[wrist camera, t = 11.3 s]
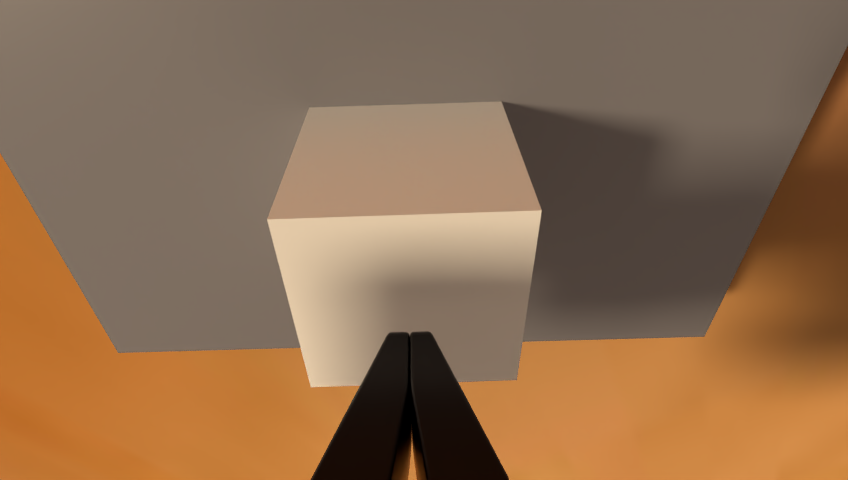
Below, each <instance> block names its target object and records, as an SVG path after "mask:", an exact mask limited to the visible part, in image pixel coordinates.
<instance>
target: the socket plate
mask: <svg viewBox="0 0 848 480" xmlns="http://www.w3.org/2000/svg"><path fill="white" fill-rule="evenodd" d="M847 46H848V0H0V153H1V155H2V157H3V158H4V160H5V162H6V163H7V165H8V167H9V168H10V170H11V172H12V173H13V175H14V177H15V179H16V180H17V182H18V184H19V185H20V187H21V189H22V190H23V192H24V194H25V196H26V197H27V199H28V201H29V202H30V204H31V206H32V207H33V209H34V211H35V212H36V214H37V216H38V218H39V219H40V221H41V223H42V224H43V226H44V228H45V229H46V231H47V233H48V235H49V236H50V238H51V240H52V241H53V243H54V245H55V246H56V248H57V250H58V251H59V253H60V255H61V257H62V258H63V260H64V262H65V263H66V265H67V267H68V268H69V270H70V272H71V274H72V275H73V277H74V279H75V280H76V282H77V284H78V285H79V287H80V289H81V290H82V292H83V294H84V296H85V297H86V299H87V301H88V302H89V304H90V306H91V307H92V309H93V311H94V313H95V314H96V316H97V318H98V319H99V321H100V323H101V324H102V326H103V328H104V330H105V331H106V333H107V335H108V336H109V338H110V340H111V341H112V343H113V345H114V346H115V348H116V350H117V352H118V353H127V352H163V351H199V350H235V349H272V348H301V347H300V343H299V340H298V336H297V332H296V328H295V324H294V321H293V317H292V313H291V309H290V305H289V302H288V298H287V294H286V290H285V286H284V282H283V279H282V275H281V271H280V267H279V263H278V260H277V256H276V252H275V248H274V244H273V241H272V237H271V233H270V229H269V225H268V221H267V218H268V215H269V213H270V210H271V207H272V205H273V202H274V200H275V197H276V194H277V192H278V189H279V186H280V184H281V181H282V178H283V176H284V173H285V170H286V168H287V165H288V162H289V160H290V157H291V155H292V152H293V149H294V147H295V144H296V141H297V139H298V136H299V133H300V131H301V128H302V125H303V123H304V120H305V117H306V115H307V112H308V110H309V107H339V106H371V105H403V104H435V103H467V102H499V101H501V102H502V104H503V107H504V110H505V112H506V115H507V118H508V121H509V123H510V126H511V129H512V131H513V134H514V137H515V139H516V142H517V145H518V148H519V150H520V153H521V156H522V158H523V161H524V164H525V166H526V169H527V172H528V175H529V177H530V180H531V183H532V185H533V188H534V191H535V193H536V196H537V199H538V202H539V204H540V207H541V210H542V212H541V219H540V226H539V233H538V239H537V246H536V253H535V260H534V266H533V273H532V280H531V287H530V294H529V300H528V307H527V314H526V321H525V327H524V334H523V341H522V342H525V341H561V340H598V339H634V338H670V337H704V336H705V334H706V332H707V330H708V328H709V326H710V324H711V322H712V320H713V318H714V316H715V314H716V312H717V310H718V308H719V306H720V304H721V302H722V300H723V298H724V296H725V294H726V292H727V290H728V288H729V286H730V283H731V281H732V279H733V277H734V275H735V273H736V271H737V269H738V267H739V265H740V263H741V261H742V259H743V257H744V255H745V253H746V251H747V249H748V247H749V245H750V243H751V241H752V239H753V237H754V235H755V233H756V231H757V229H758V227H759V225H760V223H761V221H762V219H763V216H764V214H765V212H766V210H767V208H768V206H769V204H770V202H771V200H772V198H773V196H774V194H775V192H776V190H777V188H778V186H779V184H780V182H781V180H782V178H783V176H784V174H785V172H786V170H787V168H788V166H789V164H790V162H791V160H792V158H793V156H794V154H795V151H796V149H797V147H798V145H799V143H800V141H801V139H802V137H803V135H804V133H805V131H806V129H807V127H808V125H809V123H810V121H811V119H812V117H813V115H814V113H815V111H816V109H817V107H818V105H819V103H820V101H821V99H822V97H823V95H824V93H825V91H826V89H827V86H828V84H829V82H830V80H831V78H832V76H833V74H834V72H835V70H836V68H837V66H838V64H839V62H840V60H841V58H842V56H843V54H844V52H845V50H846V48H847Z"/></svg>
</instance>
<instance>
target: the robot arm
mask: <svg viewBox="0 0 848 480" xmlns="http://www.w3.org/2000/svg"><path fill="white" fill-rule="evenodd" d="M412 443H413V453H414V461H415V468H416V476H417V480H509V478H508V476H507V474H506V472H505V470H504V468H503V466H502V464H501V463H500V461H499V459H498V457H497V455H496V453H495V451H494V449H493V447H492V446H491V444H490V442H489V440H488V438H487V436H486V434H485V432H484V430H483V429H482V427H481V425H480V423H479V421H478V419H477V417H476V415H475V413H474V412H473V410H472V408H471V406H470V404H469V402H468V400H467V398H466V396H465V395H464V393H463V391H462V389H461V387H460V385H459V383H458V381H457V379H456V378H455V376H454V374H453V372H452V370H451V368H450V366H449V364H448V363H447V361H446V359H445V357H444V355H443V353H442V351H441V349H440V347H439V346H438V344H437V342H436V340H435V338H434V336H433V334H432V333H431V332H429V331H419V332H412V333H411V334H410V335H409V333H407V332H390V333H389V334H388V335H387V336H386V338H385V340H384V341H383V343H382V345H381V347H380V349H379V351H378V353H377V355H376V357H375V359H374V360H373V362H372V364H371V366H370V368H369V370H368V372H367V374H366V376H365V378H364V379H363V381H362V383H361V385H360V387H359V389H358V391H357V393H356V395H355V397H354V398H353V400H352V402H351V404H350V406H349V408H348V410H347V412H346V414H345V415H344V417H343V419H342V421H341V423H340V425H339V427H338V429H337V431H336V433H335V434H334V436H333V438H332V440H331V442H330V444H329V446H328V448H327V450H326V452H325V453H324V455H323V457H322V459H321V461H320V463H319V465H318V467H317V469H316V471H315V472H314V474H313V476H312V478H311V480H408V475H409V466H410V457H411V444H412Z"/></svg>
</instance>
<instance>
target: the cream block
mask: <svg viewBox="0 0 848 480" xmlns="http://www.w3.org/2000/svg"><path fill="white" fill-rule="evenodd" d="M541 212H542V210H541V207H540V204H539V202H538V199H537V196H536V193H535V191H534V188H533V185H532V183H531V180H530V177H529V175H528V172H527V169H526V166H525V164H524V161H523V158H522V156H521V153H520V150H519V148H518V145H517V142H516V139H515V137H514V134H513V131H512V129H511V126H510V123H509V121H508V118H507V115H506V112H505V110H504V107H503V104H502V102H501V101H499V102H467V103H435V104H403V105H371V106H339V107H309V110H308V112H307V115H306V117H305V120H304V123H303V125H302V128H301V131H300V133H299V136H298V139H297V141H296V144H295V147H294V149H293V152H292V155H291V157H290V160H289V162H288V165H287V168H286V170H285V173H284V176H283V178H282V181H281V184H280V186H279V189H278V192H277V194H276V197H275V200H274V202H273V205H272V207H271V210H270V213H269V215H268V218H267V221H268V225H269V229H270V233H271V237H272V241H273V244H274V248H275V252H276V256H277V260H278V263H279V267H280V271H281V275H282V279H283V282H284V286H285V290H286V294H287V298H288V302H289V305H290V309H291V313H292V317H293V321H294V324H295V328H296V332H297V336H298V340H299V343H300V347H301V351H302V355H303V359H304V363H305V366H306V370H307V374H308V378H309V382H310V385H311V387H330V386H359V385H361V383H362V381H363V379H364V378H365V376H366V374H367V372H368V370H369V368H370V366H371V364H372V362H373V360H374V359H375V357H376V355H377V353H378V351H379V349H380V347H381V345H382V343H383V341H384V340H385V338H386V336H387V335H388V334H389V333H390V332H407V333H409V335H410V334H411V333H412V332H419V331H429V332H431V333H432V334H433V336H434V338H435V340H436V342H437V344H438V346H439V347H440V349H441V351H442V353H443V355H444V357H445V359H446V361H447V363H448V364H449V366H450V368H451V370H452V372H453V374H454V376H455V378H456V379H457V381H458V382H472V381H501V380H517V375H518V368H519V361H520V354H521V348H522V341H523V334H524V327H525V321H526V314H527V307H528V300H529V294H530V287H531V280H532V273H533V266H534V260H535V253H536V246H537V239H538V233H539V226H540V219H541Z"/></svg>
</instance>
